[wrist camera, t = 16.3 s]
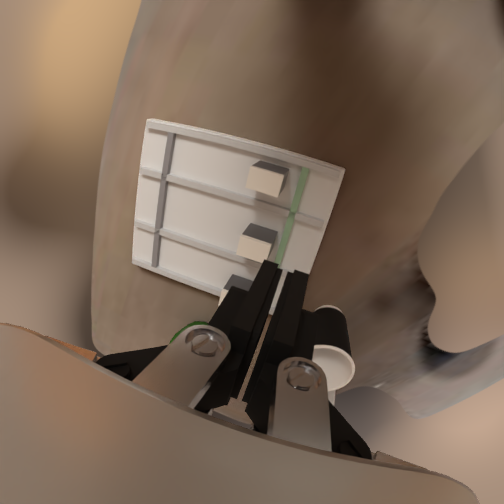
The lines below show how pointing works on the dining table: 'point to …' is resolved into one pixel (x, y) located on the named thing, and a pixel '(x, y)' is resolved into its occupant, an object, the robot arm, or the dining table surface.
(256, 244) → the block
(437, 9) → the dining table surface
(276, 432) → the robot arm
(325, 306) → the dixie cup
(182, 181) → the board
